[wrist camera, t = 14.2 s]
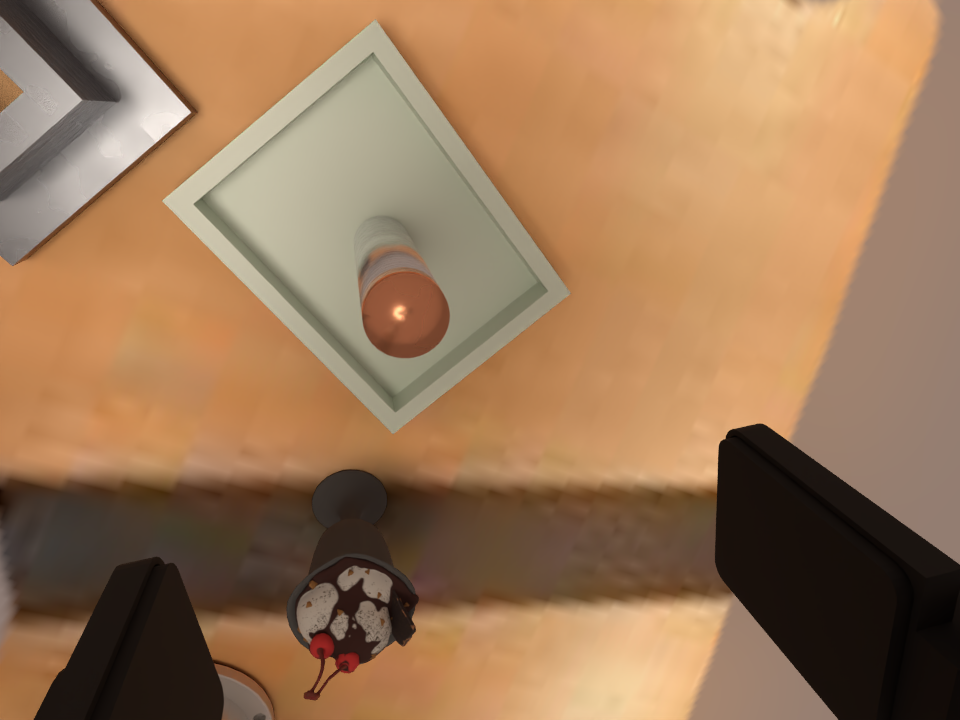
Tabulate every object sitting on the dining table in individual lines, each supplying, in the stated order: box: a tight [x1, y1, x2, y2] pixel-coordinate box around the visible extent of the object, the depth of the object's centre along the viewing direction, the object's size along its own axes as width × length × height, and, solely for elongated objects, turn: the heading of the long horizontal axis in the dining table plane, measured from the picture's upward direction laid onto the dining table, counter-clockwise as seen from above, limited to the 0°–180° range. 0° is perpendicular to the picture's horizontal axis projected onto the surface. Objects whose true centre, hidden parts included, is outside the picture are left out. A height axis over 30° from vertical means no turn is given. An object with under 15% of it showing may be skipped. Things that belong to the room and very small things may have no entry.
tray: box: [162, 19, 571, 434], centre depth 35 cm, size 18×14×3 cm
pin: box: [354, 216, 450, 358], centre depth 29 cm, size 3×3×14 cm
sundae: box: [287, 470, 419, 700], centre depth 35 cm, size 7×7×15 cm
